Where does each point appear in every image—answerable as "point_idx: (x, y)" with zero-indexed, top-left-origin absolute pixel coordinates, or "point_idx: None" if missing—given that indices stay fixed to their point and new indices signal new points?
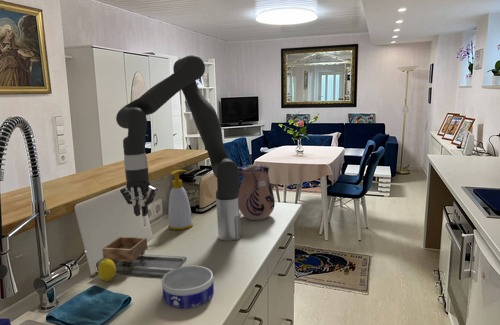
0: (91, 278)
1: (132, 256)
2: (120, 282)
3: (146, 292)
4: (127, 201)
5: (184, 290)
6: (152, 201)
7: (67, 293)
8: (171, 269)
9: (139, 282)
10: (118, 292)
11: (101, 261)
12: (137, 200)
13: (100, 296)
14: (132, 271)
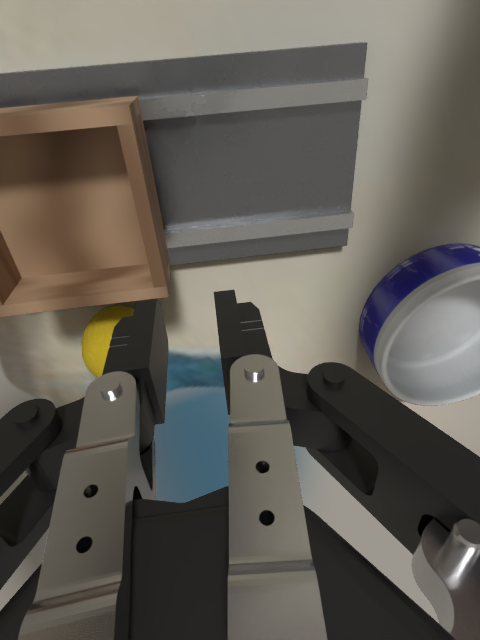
0: (41, 315)
1: (169, 272)
2: (173, 310)
3: (298, 333)
4: (38, 495)
5: (463, 399)
6: (353, 371)
7: (60, 394)
8: (345, 223)
9: (241, 293)
10: (211, 354)
11: (97, 375)
12: (128, 426)
13: (173, 380)
14: (176, 257)
